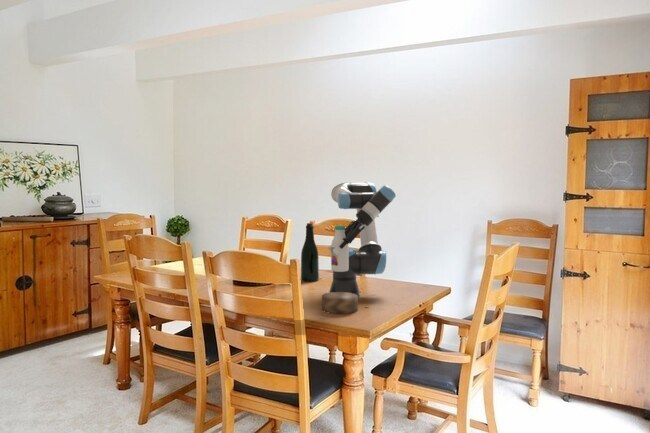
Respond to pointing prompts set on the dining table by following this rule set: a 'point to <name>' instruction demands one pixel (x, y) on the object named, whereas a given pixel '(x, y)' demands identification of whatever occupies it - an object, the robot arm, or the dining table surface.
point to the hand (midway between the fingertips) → (332, 251)
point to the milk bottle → (342, 259)
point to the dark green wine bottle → (309, 257)
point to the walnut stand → (339, 302)
